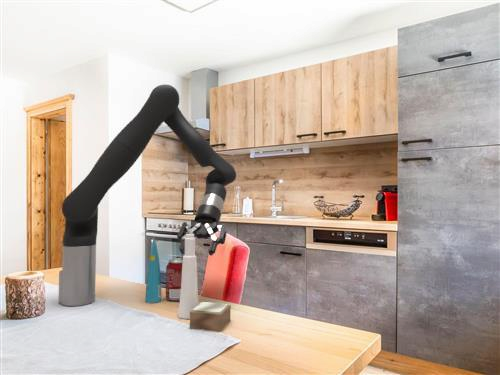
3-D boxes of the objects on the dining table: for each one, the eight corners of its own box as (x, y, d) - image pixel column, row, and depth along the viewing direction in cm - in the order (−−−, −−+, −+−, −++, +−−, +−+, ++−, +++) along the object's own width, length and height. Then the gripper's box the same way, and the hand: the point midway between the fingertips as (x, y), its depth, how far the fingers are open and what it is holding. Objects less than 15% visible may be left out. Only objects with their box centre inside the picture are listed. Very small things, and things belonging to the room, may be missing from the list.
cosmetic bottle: (173, 318, 97) (175, 234, 98) (183, 311, 103) (184, 232, 104) (195, 320, 96) (196, 235, 97) (203, 313, 102) (204, 233, 102)
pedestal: (189, 328, 90) (189, 310, 90) (201, 318, 98) (201, 301, 98) (220, 331, 88) (221, 313, 88) (230, 320, 96) (230, 303, 96)
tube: (143, 298, 116) (145, 237, 116) (159, 297, 117) (160, 236, 118) (147, 305, 109) (148, 240, 109) (163, 303, 111) (164, 239, 111)
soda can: (182, 302, 112) (183, 263, 112) (162, 301, 113) (162, 262, 113) (190, 296, 118) (191, 259, 118) (171, 295, 119) (171, 258, 120)
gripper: (185, 202, 115) (168, 244, 104) (229, 203, 112) (217, 246, 100) (191, 218, 120) (176, 259, 109) (233, 219, 117) (222, 262, 105)
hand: (196, 253), depth 105 cm, fingers open, 8 cm apart
